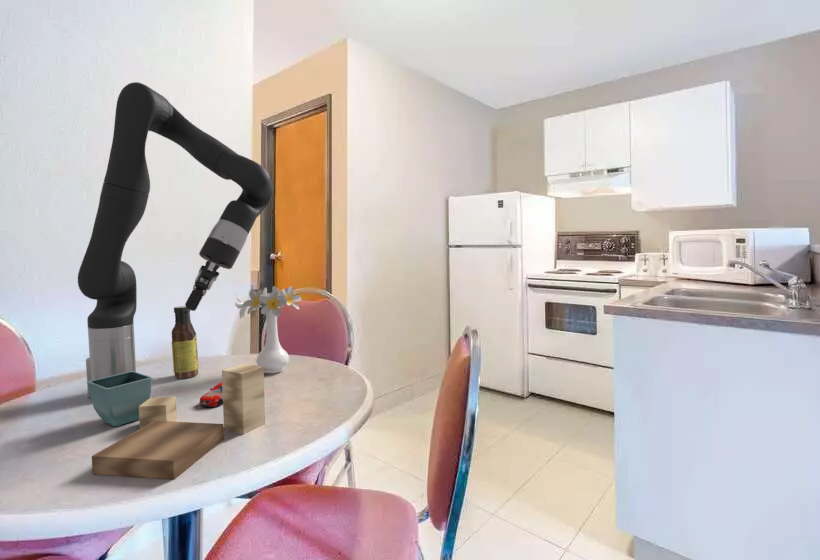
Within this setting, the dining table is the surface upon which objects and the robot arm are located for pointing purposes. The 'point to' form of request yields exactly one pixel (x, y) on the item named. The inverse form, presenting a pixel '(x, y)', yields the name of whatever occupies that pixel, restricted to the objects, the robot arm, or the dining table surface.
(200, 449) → the walnut slab
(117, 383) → the flower pot
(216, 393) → the race car
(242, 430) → the oak pillar
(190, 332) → the sauce bottle
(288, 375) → the dining table surface
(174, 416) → the oak cube
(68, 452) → the dining table surface
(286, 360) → the flower vase
